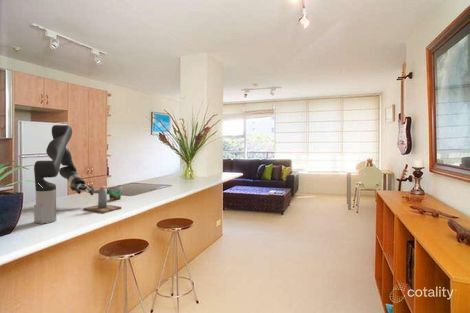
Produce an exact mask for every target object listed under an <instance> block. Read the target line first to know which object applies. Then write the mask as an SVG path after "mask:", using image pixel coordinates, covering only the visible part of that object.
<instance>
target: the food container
mask: <svg viewBox="0 0 470 313" xmlns="http://www.w3.org/2000/svg"><path fill="white" fill-rule="evenodd" d="M122 190H123V186H122V185H121V184H118V185H117V186H113V187H112V186H111V187H109V186H108V189H107V191H108V195H109V197H108V198H109V201H111V202H112V201H119V200H121V197H122Z"/></svg>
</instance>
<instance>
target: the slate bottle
mask: <svg viewBox="0 0 470 313" xmlns="http://www.w3.org/2000/svg"><path fill="white" fill-rule="evenodd" d="M97 195H98V199H97V200H98V201H97V205H98V208H106V207H107V205H108V204H107V202H108V200H107V199H108V189H107V188H106V186H104V185H101V186H100V188H98V194H97Z"/></svg>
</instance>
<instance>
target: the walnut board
mask: <svg viewBox="0 0 470 313" xmlns="http://www.w3.org/2000/svg"><path fill="white" fill-rule="evenodd" d="M121 209H122V206H118V205H112V204H111V205H110V204H107V207H106V208H98V204H95V205H92V206H87V207H83V209H82V210H83V211H85V212H86V211H88V212H91V213H92V212H94V213H99V214H106V213H110V212H113V211H118V210H121Z"/></svg>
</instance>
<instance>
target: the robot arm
mask: <svg viewBox="0 0 470 313" xmlns="http://www.w3.org/2000/svg"><path fill="white" fill-rule="evenodd" d="M72 136H73V129H72V126H70V125H68V124H67V125H65V124H64V125H63V124H54V125H52V127H51V137H52V140H51V141H50V142H49V143H48V145H47V147H46V154H47V156H48V158H50V159H51V160H36V161H35V163H34V165H33V166H34V167H33V172H34V186H35V188H34V189H35V204H33V220H34V221H33V222H34V224H35V223H36V224H40V225H42V224H49V223H53V222H56V221H57V186H56V183H52V182H49V181H47V180H45V179H46V178H56V177H57V176H58V174H59V175H60V176H61V177H62V178H64V179H66V180H67V181H68V182H69V184H70V185H69V186H68V187H69V188H70V190H71V191H73V192H74V191H75V192H76V193H77V194H78V195H81V193H82V191H84V192H86V193H89V195H90V196H93V195H94V194H95V192H94V191H95V188H94V187H92V185H86V182H85V180H84V178H82V177H81V175H79V174H78V173H77V168H76V166H75V164H74V162H73V159H72V153H71V151H70V150H69V149H68V146H67V145H68V143H69V142H70V140H71V138H72ZM61 166H62V167H61ZM38 183H39V184H40V185H41V186H42V187H43V188H42V187H41V186H40V185H39V184H38Z"/></svg>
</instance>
